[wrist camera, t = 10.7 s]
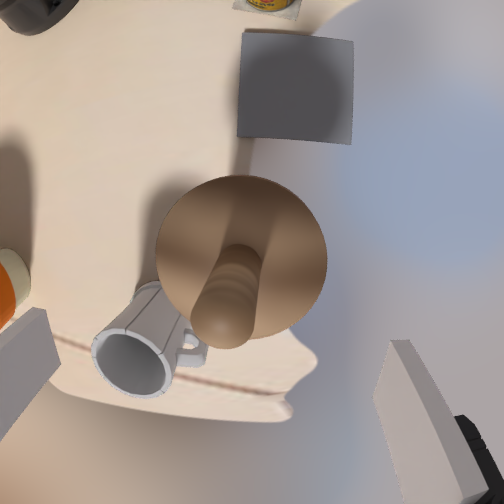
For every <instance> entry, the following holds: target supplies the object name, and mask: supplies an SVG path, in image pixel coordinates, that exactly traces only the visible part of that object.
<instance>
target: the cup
mask: <svg viewBox="0 0 504 504" xmlns="http://www.w3.org/2000/svg"><path fill="white" fill-rule="evenodd" d="M184 343H187V344H192V345H193V346H194V347H195V348H193V349H183V345H184ZM208 346H209V345H207V344H206V343H204V342H203V341H201V340H200V339H199V338H198V337H197V335H196V334H195V333H194V331H193V329H192V326H191V322H190V321H188V320H187V319H186V318H185V317H184V316H182V315H181V314H180V312H179V311H178V310H177V309H176V308H175V307H174V306H173V304H172V303H171V302H170V300H169V299H168V297H167V295H166V294H165V292H164V290H163V287H162V285H161V283H160V281H152V282H149V283H146V284H144V285H143V286H142V287H140V288H139V289H138V290H137V291H136V292H135V293H134V295H133V297H132V299H131V301H130V304H129V305H128V306H127V307H126V308H125V309H124V310H123V312H122V313H121V314H119V315H118V316H117V317H116V318H115V319H114V320H113V321H112V322H111V323H110V324H109V325H108V326H107V327H105V328H104V329H103V330H102V331H101V332H100V333H99V334H98V335H96V337H95V338H94V340H93V343H92V345H91V352H92V359H93V361H94V364H95V367H96V369H97V370H98V372H99V373H100V375H101V376H102V377H103V376H104V377H103V378H104V379H105V380H106V381H107V382H108V383H109V384H110V385H111V386H112V387H114V388H115V389H117V390H118V391H120V392H122V393H124V394H126V395H129V396H132V397H135V398H142V399H149V398H156V397H158V396H160V395H162V394H164V393H165V392H166V391H167V390H168V388H169V387H170V386H171V383H172V379H173V376H174V372H175V369H176V366H181V367H194V368H198V367H200V366H202V365H204V364H205V361H206V356H207V351H208Z"/></svg>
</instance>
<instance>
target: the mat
mask: <svg viewBox="0 0 504 504" xmlns="http://www.w3.org/2000/svg"><path fill="white" fill-rule="evenodd" d="M353 55H354V53H353V42H352V41H346V40H339V39H332V38H324V37H315V36H305V35H293V34H277V33H242V46H241V64H240V83H239V104H238V126H237V137H255V138H277V139H291V140H305V141H316V142H327V143H337V144H346V145H351V137H352V117H353V115H352V114H353V77H354V76H353V72H354V67H353V66H354V60H353V59H354V58H353V57H354V56H353Z"/></svg>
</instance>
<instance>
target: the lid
mask: <svg viewBox="0 0 504 504" xmlns="http://www.w3.org/2000/svg"><path fill="white" fill-rule="evenodd" d="M156 266H157V272H158V276H159V280H160V283H161V285H162V287H163V290H164V292H165V294H166V295H167V297H168V299H169V300H170V302H171V303H172V304H173V306H174V307H175V308H176V309H177V310H178V311H179V312H180V314H181V315H182V316H184V317H185V318H186V319H187V320H188V321H190V322H191V326H192V329H193V331H194V333H195V334H196V335H197V337H198V338H199V339H200V340H201V341H203V342H204V343H206V344H207V345H209V346H212V347H214V348H218V349H232V348H236V347H239V346H241V345H242V344H244V343H245V342H247V341H248V340H250V339H259V338H264V337H268V336H271V335H274V334H277V333H279V332H281V331H283V330H285V329H287V328H289V327H291V326H292V325H293V324H295V323H296V322H298V321H299V320H300V319H301V318H302V317H303V316H305V314H306V313H307V312H308V311H309V310H310V309H311V307H312V306H313V304H314V303H315V302H316V300H317V298H318V296H319V294H320V292H321V290H322V287H323V284H324V281H325V277H326V272H327V250H326V244H325V240H324V236H323V234H322V231H321V229H320V226H319V224H318V223H317V221H316V219H315V217H314V216H313V214H312V213H311V211H310V210H309V209H308V207H307V206H306V205H305V203H304V202H303V201H302V200H300V199H299V198H298V197H297V196H296V195H295V194H293V193H292V192H291V191H290V190H288V189H287V188H285V187H283V186H281V185H280V184H278V183H276V182H273V181H270V180H268V179H264V178H261V177H256V176H249V175H230V176H225V177H219V178H216V179H213V180H210V181H208V182H206V183H204V184H201V185H199V186H197V187H195V188H194V189H192V190H191V191H189V192H188V193H186V194H185V195H184V196H183V197H182V198H181V199H180V200H178V201H177V202H176V204H175V205H174V206H173V207H172V208H171V210H170V211H169V213H168V214H167V216H166V218H165V219H164V221H163V224H162V226H161V228H160V231H159V235H158V238H157V244H156Z"/></svg>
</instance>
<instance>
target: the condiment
mask: <svg viewBox="0 0 504 504" xmlns="http://www.w3.org/2000/svg"><path fill="white" fill-rule="evenodd" d="M301 1H302V0H235V2H234V5H233V7H232V9H236V10H242V11H248V12H254V13H259V14H266V15H271V16H276V17H283V18H287V19H291V20H295V21H296V19H297V16H298V12H299V8H300V5H301Z"/></svg>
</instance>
